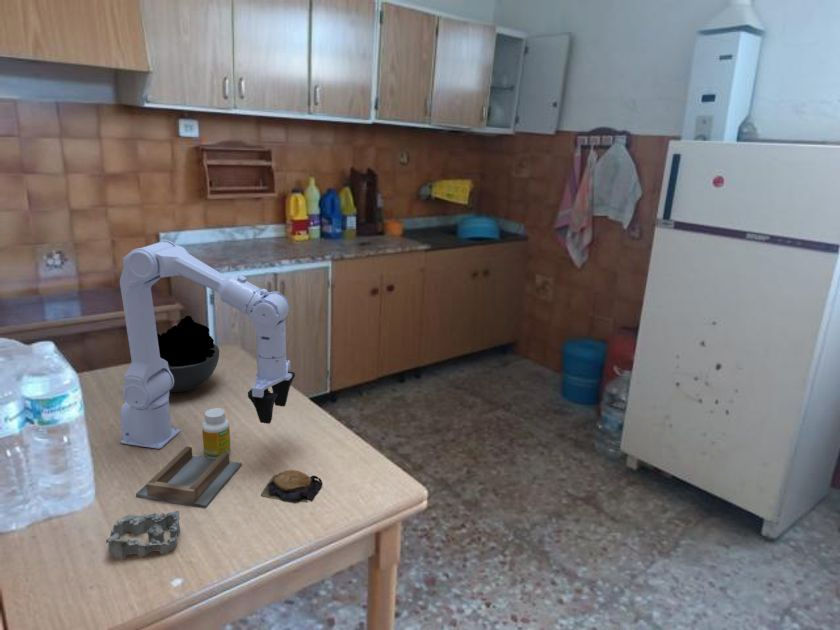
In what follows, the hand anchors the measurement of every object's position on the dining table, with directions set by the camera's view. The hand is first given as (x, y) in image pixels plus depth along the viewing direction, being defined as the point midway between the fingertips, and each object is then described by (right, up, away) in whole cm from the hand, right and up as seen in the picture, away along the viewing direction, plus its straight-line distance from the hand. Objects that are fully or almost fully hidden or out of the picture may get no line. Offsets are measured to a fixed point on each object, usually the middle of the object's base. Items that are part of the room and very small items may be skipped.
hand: (273, 413), depth 121 cm
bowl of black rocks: (-32, +1, +31) cm, 44 cm away
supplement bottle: (-13, -9, +3) cm, 16 cm away
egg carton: (-16, -18, -23) cm, 33 cm away
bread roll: (+6, -14, -7) cm, 17 cm away
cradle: (-14, -12, -7) cm, 20 cm away
